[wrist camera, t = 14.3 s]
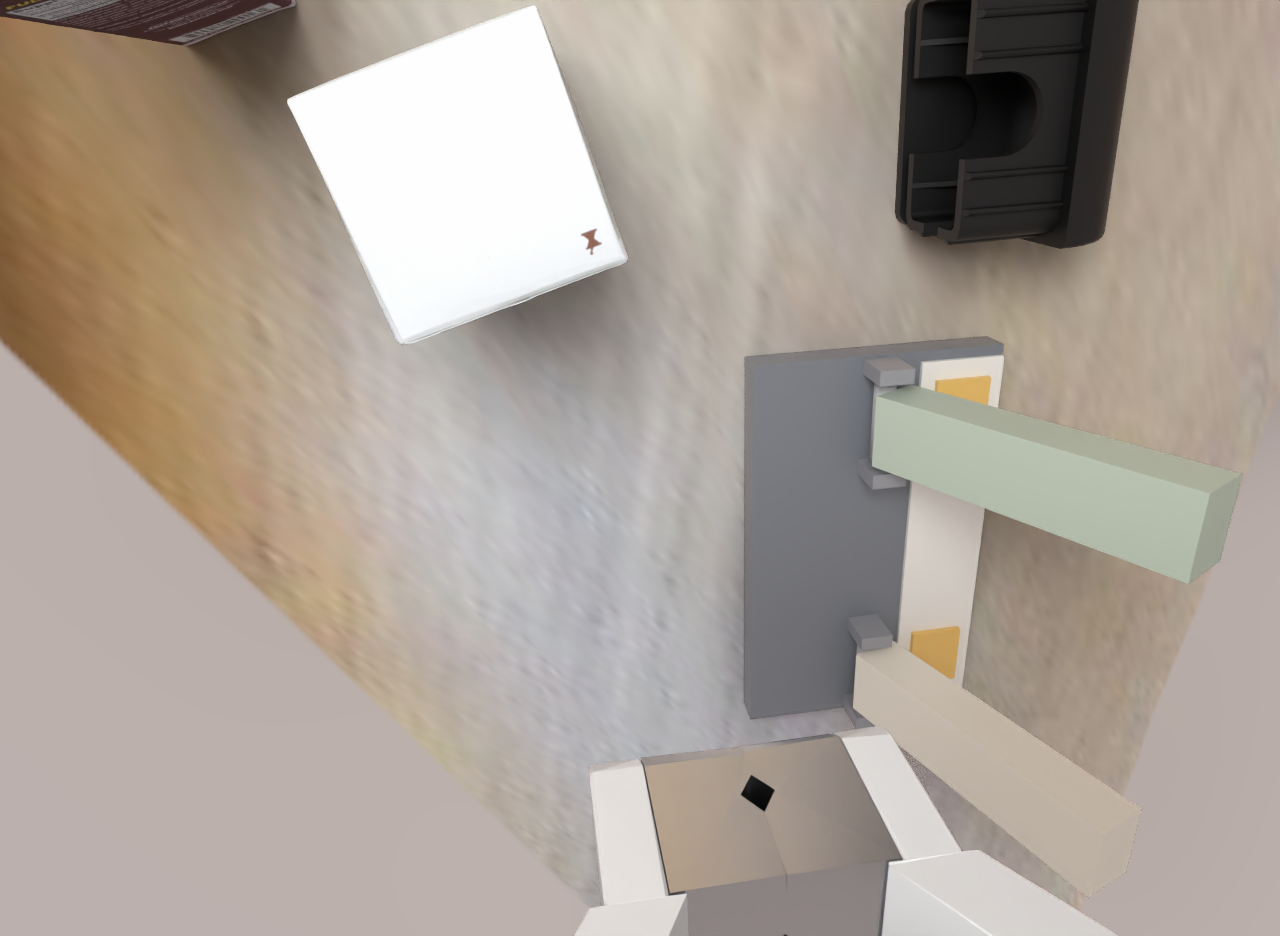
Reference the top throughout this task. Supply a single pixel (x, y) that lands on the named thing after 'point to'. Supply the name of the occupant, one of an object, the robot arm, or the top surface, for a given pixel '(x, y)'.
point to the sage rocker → (1058, 478)
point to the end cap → (1011, 118)
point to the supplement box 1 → (146, 16)
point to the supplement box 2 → (462, 175)
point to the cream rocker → (999, 768)
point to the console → (850, 524)
